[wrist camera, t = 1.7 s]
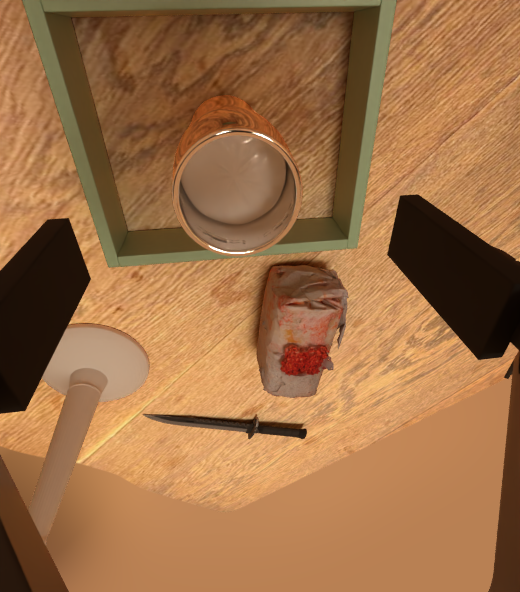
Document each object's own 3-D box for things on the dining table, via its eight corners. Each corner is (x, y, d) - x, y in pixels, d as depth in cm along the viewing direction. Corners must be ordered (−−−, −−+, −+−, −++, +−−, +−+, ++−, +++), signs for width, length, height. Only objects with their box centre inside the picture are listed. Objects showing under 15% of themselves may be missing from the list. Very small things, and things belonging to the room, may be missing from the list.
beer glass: (205, 188, 32) (203, 276, 20) (169, 107, 28) (139, 156, 16) (277, 160, 31) (320, 234, 19) (251, 74, 27) (285, 97, 15)
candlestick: (11, 341, 39) (-302, 816, 15) (118, 310, 39) (-33, 757, 14) (76, 407, 47) (-65, 793, 23) (166, 382, 46) (119, 754, 22)
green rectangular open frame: (50, -2, 23) (17, -11, 19) (369, -7, 25) (399, -16, 21) (120, 241, 34) (108, 268, 30) (340, 225, 36) (357, 248, 32)
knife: (139, 431, 51) (141, 413, 47) (142, 420, 52) (144, 401, 49) (299, 447, 56) (311, 431, 53) (298, 436, 57) (309, 420, 54)
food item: (262, 255, 37) (277, 313, 29) (335, 257, 38) (368, 313, 30) (251, 349, 44) (260, 415, 37) (311, 348, 46) (333, 412, 38)
